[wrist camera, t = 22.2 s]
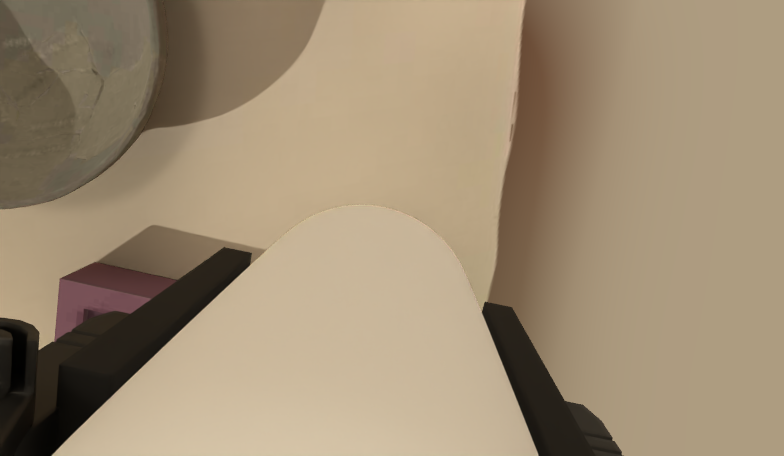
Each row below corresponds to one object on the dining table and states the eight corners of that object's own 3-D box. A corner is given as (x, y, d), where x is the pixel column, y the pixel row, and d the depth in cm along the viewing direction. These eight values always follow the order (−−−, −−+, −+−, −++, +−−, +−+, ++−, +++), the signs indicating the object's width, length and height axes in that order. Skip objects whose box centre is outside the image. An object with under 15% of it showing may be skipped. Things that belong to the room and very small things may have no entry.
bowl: (176, -165, 38) (98, -262, 28) (234, 176, 44) (185, 192, 34) (-148, -122, 39) (-330, -202, 30) (-51, 205, 45) (-178, 229, 35)
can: (416, 432, 16) (451, 1307, 4) (228, 354, 16) (-320, 1084, 4) (508, 254, 15) (929, 803, 3) (304, 164, 14) (-175, 379, 2)
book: (78, 414, 49) (43, 447, 44) (94, 261, 46) (57, 278, 41) (329, 468, 50) (322, 506, 45) (363, 321, 46) (359, 345, 41)
